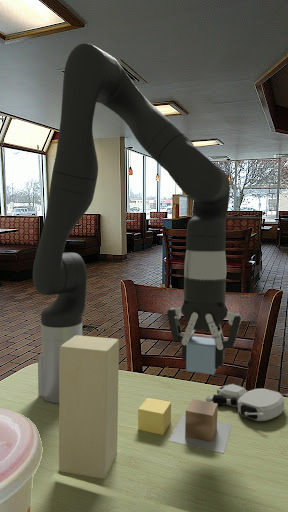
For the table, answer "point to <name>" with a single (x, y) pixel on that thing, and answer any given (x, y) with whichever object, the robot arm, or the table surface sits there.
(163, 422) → the yellow cube
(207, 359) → the brick blue
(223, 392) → the robot toy
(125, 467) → the table surface
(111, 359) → the cream tall block
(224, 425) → the base plate
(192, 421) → the brick walnut
